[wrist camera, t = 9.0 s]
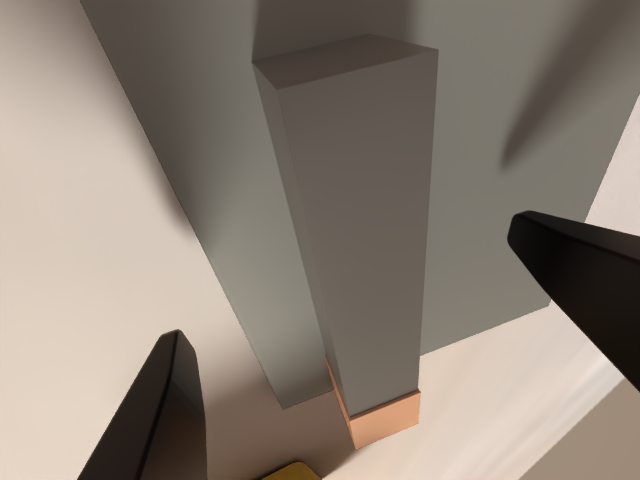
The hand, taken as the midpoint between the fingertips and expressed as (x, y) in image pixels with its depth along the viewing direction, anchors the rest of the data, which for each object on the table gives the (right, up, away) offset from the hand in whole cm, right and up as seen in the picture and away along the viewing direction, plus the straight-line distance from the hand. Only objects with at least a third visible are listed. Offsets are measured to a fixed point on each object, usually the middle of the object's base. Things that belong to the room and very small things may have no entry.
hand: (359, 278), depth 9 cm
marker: (0, 0, +2) cm, 2 cm away
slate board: (+2, +2, +2) cm, 4 cm away
